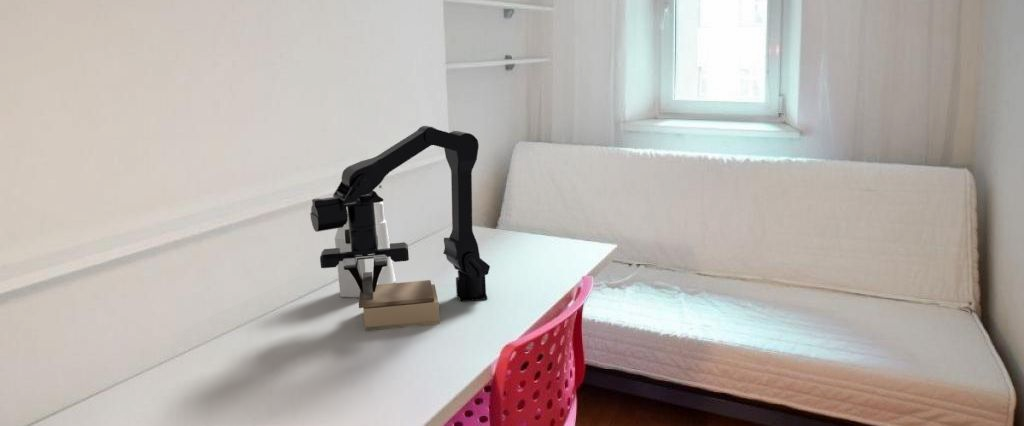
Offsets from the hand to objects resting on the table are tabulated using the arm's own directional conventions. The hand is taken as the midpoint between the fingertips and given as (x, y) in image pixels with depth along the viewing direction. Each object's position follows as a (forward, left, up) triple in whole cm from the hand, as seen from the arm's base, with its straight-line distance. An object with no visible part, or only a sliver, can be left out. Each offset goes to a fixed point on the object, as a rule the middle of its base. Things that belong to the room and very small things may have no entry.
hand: (368, 292), depth 159 cm
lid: (-6, 0, -1) cm, 6 cm away
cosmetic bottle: (-3, -26, -7) cm, 27 cm away
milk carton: (+3, -19, -7) cm, 20 cm away
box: (-7, 0, -7) cm, 10 cm away
